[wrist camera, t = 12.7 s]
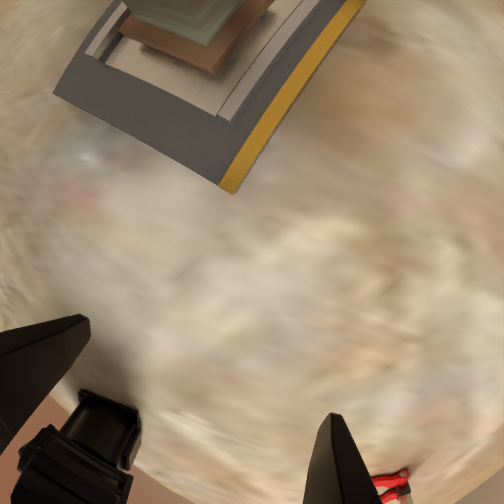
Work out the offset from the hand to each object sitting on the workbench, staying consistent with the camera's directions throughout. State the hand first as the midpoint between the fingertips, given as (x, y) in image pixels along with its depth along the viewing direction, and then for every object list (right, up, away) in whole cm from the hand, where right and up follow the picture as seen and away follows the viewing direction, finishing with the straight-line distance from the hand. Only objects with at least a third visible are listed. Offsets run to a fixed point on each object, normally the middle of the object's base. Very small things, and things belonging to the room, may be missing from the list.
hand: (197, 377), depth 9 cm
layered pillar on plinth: (-1, +19, +6) cm, 20 cm away
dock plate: (-1, +20, +8) cm, 21 cm away
